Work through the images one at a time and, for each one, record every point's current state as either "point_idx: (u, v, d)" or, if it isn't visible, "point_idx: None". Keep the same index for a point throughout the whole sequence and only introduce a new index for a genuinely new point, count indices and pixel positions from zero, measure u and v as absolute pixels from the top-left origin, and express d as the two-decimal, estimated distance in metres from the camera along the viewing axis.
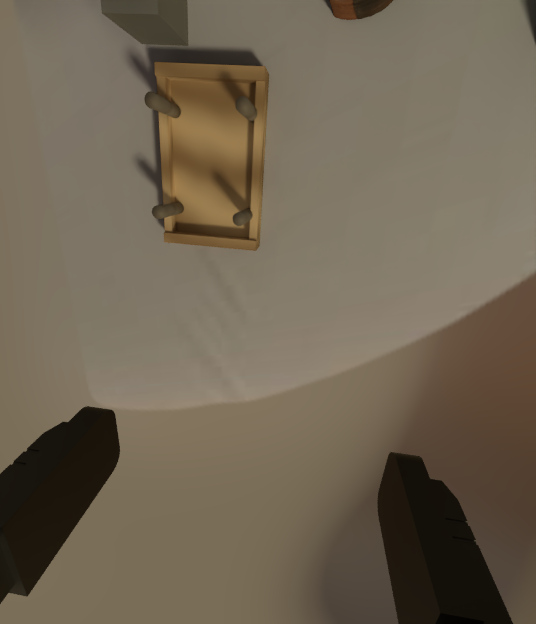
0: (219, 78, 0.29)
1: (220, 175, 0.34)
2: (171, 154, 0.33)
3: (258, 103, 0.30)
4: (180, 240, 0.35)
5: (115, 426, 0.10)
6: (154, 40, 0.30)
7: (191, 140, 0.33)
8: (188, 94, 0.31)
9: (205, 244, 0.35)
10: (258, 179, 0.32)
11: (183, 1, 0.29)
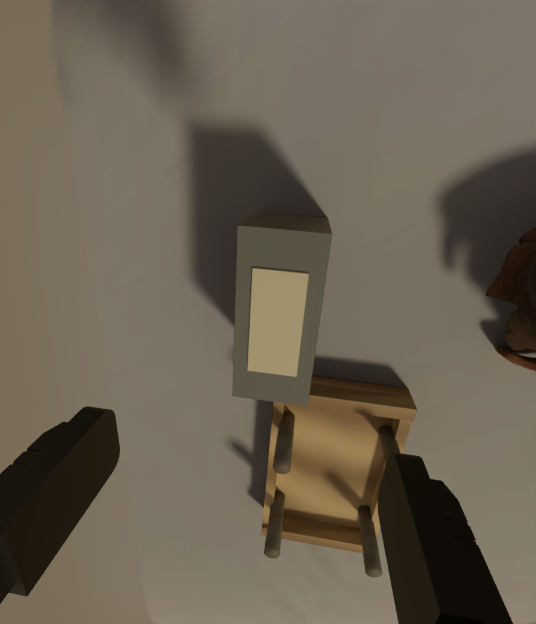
0: (355, 411, 0.24)
1: (335, 475, 0.28)
2: None
3: (400, 435, 0.24)
4: (281, 536, 0.30)
5: (115, 426, 0.10)
6: None
7: (304, 443, 0.27)
8: None
9: (311, 542, 0.30)
10: None
11: None
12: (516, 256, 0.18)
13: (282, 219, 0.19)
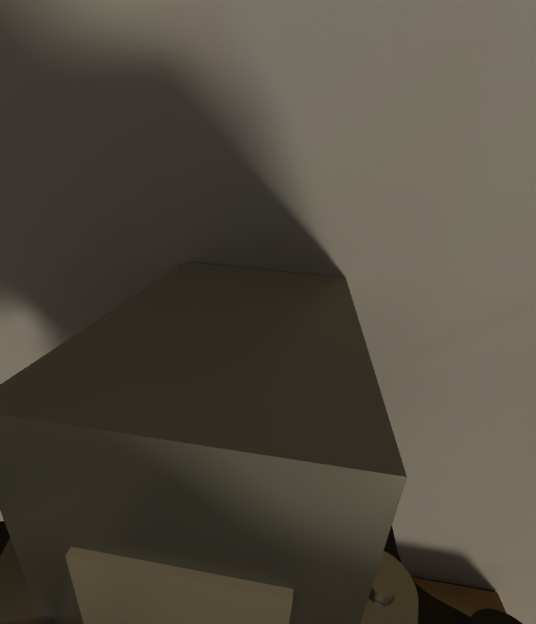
0: None
1: None
2: None
3: None
4: None
5: None
6: None
7: None
8: None
9: None
10: None
11: None
12: None
13: (222, 305, 0.07)
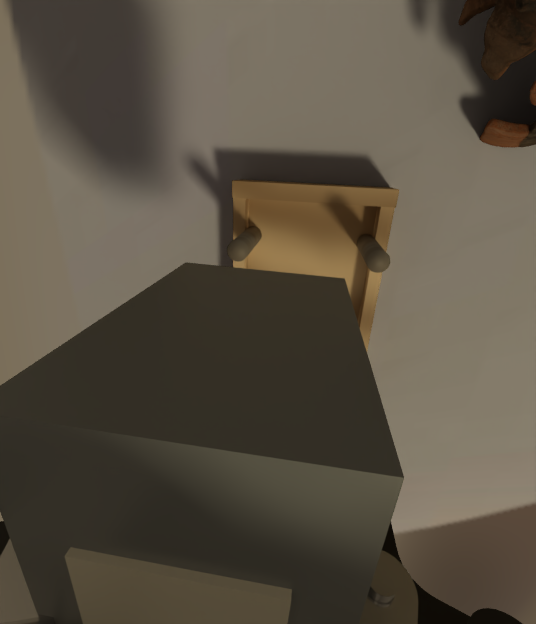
0: (326, 202, 0.20)
1: None
2: None
3: (381, 234, 0.21)
4: None
5: None
6: None
7: (274, 270, 0.24)
8: (274, 214, 0.22)
9: None
10: (369, 326, 0.23)
11: None
12: None
13: (221, 306, 0.07)
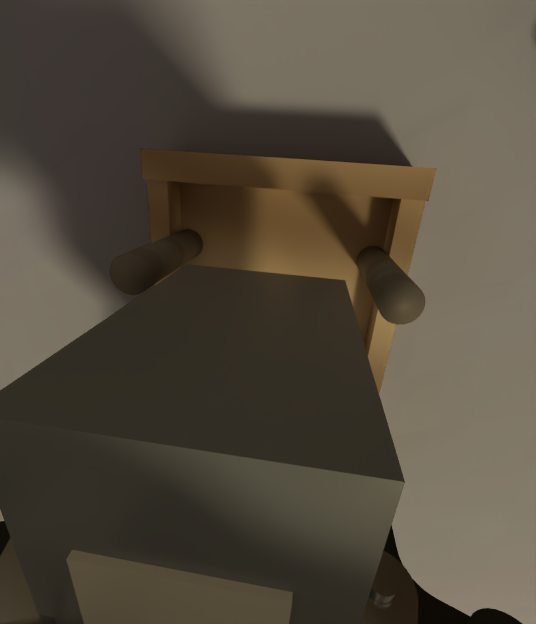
0: (306, 190, 0.11)
1: None
2: None
3: (399, 248, 0.12)
4: None
5: None
6: None
7: None
8: (221, 211, 0.13)
9: None
10: None
11: None
12: None
13: (222, 308, 0.07)
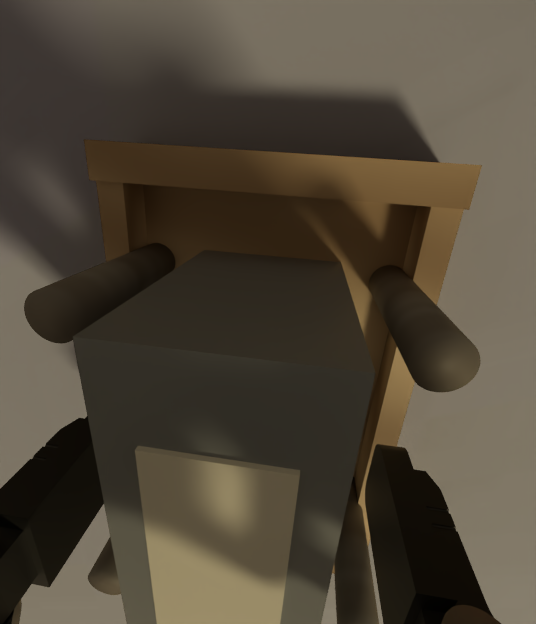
0: (304, 195, 0.09)
1: None
2: None
3: (426, 271, 0.09)
4: None
5: None
6: None
7: None
8: (197, 221, 0.11)
9: None
10: None
11: None
12: None
13: (239, 280, 0.08)
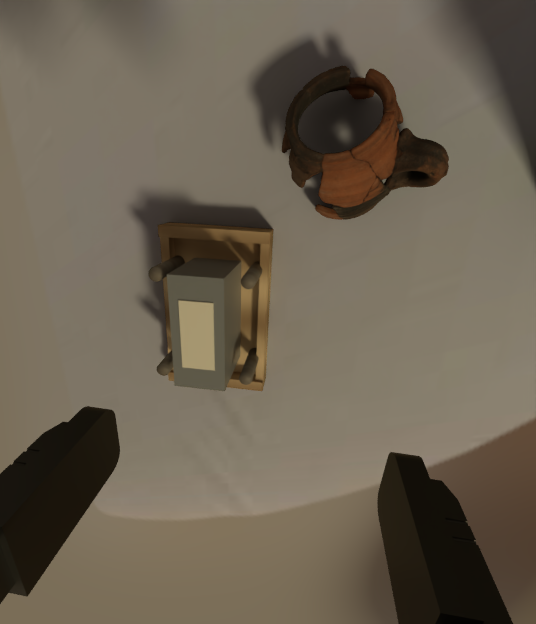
0: (223, 240, 0.29)
1: None
2: None
3: (263, 262, 0.29)
4: None
5: (115, 426, 0.10)
6: None
7: None
8: (192, 247, 0.31)
9: None
10: (264, 328, 0.32)
11: (238, 334, 0.32)
12: None
13: (204, 265, 0.28)
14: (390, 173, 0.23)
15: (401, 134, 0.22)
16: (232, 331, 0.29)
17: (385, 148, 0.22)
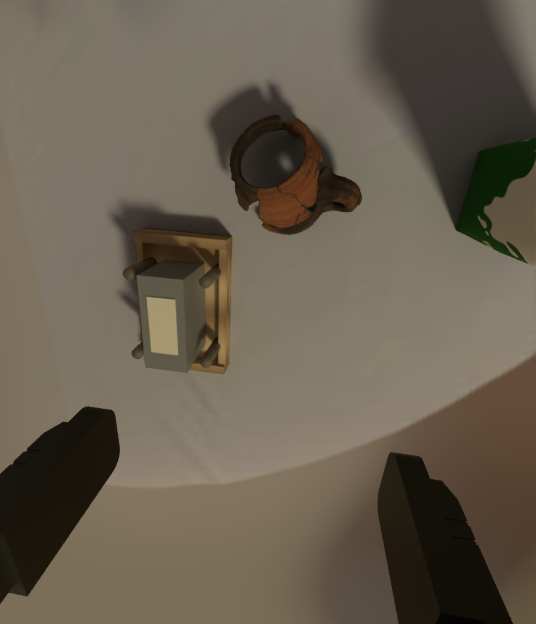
0: (188, 246, 0.34)
1: None
2: None
3: (222, 265, 0.35)
4: None
5: (115, 426, 0.10)
6: None
7: None
8: (163, 250, 0.36)
9: None
10: (224, 320, 0.37)
11: (203, 325, 0.38)
12: None
13: (170, 267, 0.34)
14: (314, 202, 0.28)
15: (321, 172, 0.27)
16: (195, 323, 0.35)
17: (307, 183, 0.27)
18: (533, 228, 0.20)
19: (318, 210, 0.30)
